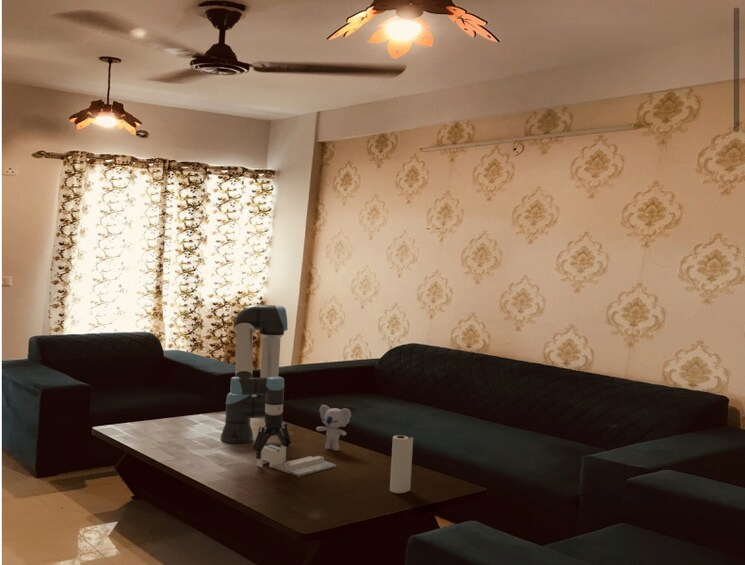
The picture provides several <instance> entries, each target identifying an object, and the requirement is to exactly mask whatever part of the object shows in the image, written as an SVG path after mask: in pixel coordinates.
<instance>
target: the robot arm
mask: <svg viewBox="0 0 745 565" xmlns="http://www.w3.org/2000/svg"><path fill="white" fill-rule="evenodd" d="M287 316H288V314H287V310H286V308H285V307H284V306H282V305H268V304H267V305H264V304H251V305H248V306H246V307H244V308H243V309H242V310H241V311H240V312H239V313H238V314H237V316H236V318H235V320H234V322H233V332H234V333H235V362H234V365H235V371H234V373H235V374H234V375H235V376H232V377H230V387H229V388H230V392H228V393H227V395H226V401H225V418H224V419H225V420H224V422H225V423H224V426H223V429H222V432H221V434H220V440H221V441H222V442H223V443H228V444H237V445H238V444H240V445H241V444H247V443H248V444H249V443H251V442H252V441H254V442H253V446H252V450H254V451H255V452H256V455H255V458H256V466H257V467H258V468H259V467H260V468H263V465H264V464H263V451H262V449H263V448H264V446H266V444H267V442H268V440H269V439H271V437H273V436H277V438H278V439H279V441H280V444H281V445H280V448H283V449H284V452H283V462H287V460H286V459H287V453H288V447H290V445H291V444H292V441H291V437H290V434H289V429H288V424H287V423H286V422H283V419H284V418H283V417H284V415H283V412H284V399H285V398H284V394H285V378H284V377H282V376H279V373H280V372H279V371H280V358H281V357H280V354H281V353H280V352H281V339H282V337H283V336H284V335H285V332H287V331H288V317H287ZM258 330H259V335H260V337H261V338H262V341H261V355H260V356H261V358H260V361H261V362H260V376H259V377H254V376H253V373H254V372H253V370H254V369H253V368H254V366H253V364H254V363H253V356H254V355H253V354H254V353H253V351H254V350H253V348H254V346H253V345H254V344H253V343H254V340H253V338H254V336H253V335H254V333H255V331H258ZM251 419H264V422H265V425H264V426H259V427H258V433H257V436H256V439H255V440H254V434H253V431H252V426H251Z"/></svg>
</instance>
